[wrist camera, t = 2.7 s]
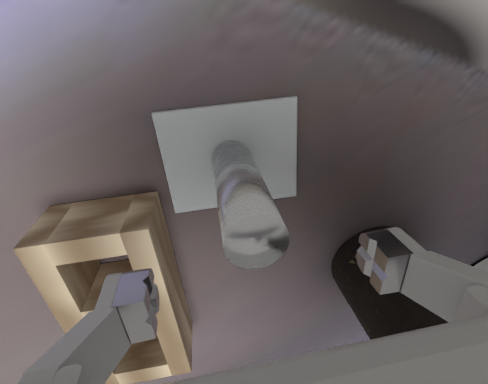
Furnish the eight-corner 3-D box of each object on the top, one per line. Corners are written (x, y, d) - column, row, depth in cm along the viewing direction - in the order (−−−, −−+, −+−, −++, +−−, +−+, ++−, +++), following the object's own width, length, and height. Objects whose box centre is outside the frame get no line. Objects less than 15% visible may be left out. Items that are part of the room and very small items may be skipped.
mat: (295, 95, 20) (297, 96, 20) (294, 193, 24) (296, 195, 24) (152, 112, 19) (151, 113, 19) (175, 210, 23) (175, 213, 23)
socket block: (157, 191, 22) (147, 229, 18) (192, 323, 30) (191, 371, 26) (50, 205, 22) (13, 249, 17) (114, 337, 29) (100, 389, 25)
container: (426, 249, 30) (744, 548, 13) (359, 300, 32) (547, 609, 15) (383, 206, 26) (743, 542, 9) (311, 267, 29) (485, 623, 11)
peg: (250, 137, 21) (289, 210, 12) (252, 174, 22) (289, 263, 14) (209, 142, 21) (218, 221, 12) (214, 180, 22) (226, 273, 13)
